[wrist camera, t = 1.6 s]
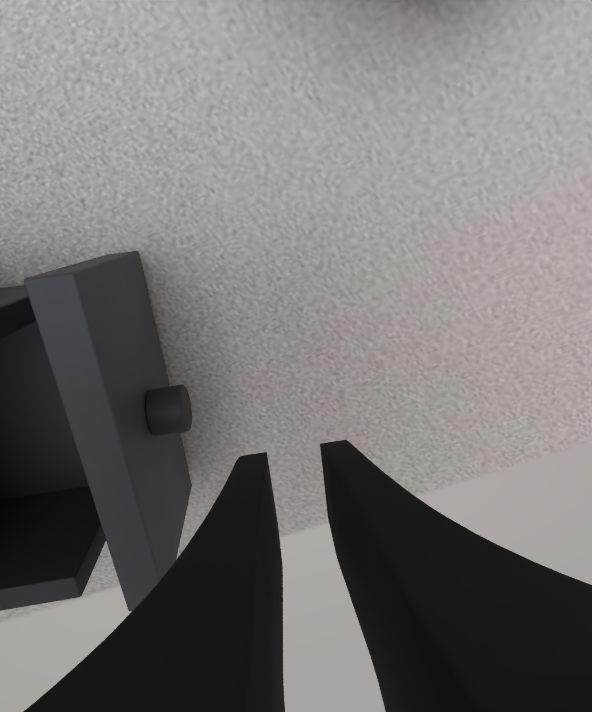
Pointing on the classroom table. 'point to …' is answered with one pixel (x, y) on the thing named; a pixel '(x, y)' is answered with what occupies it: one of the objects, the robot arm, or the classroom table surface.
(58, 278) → the drawer
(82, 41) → the classroom table surface
